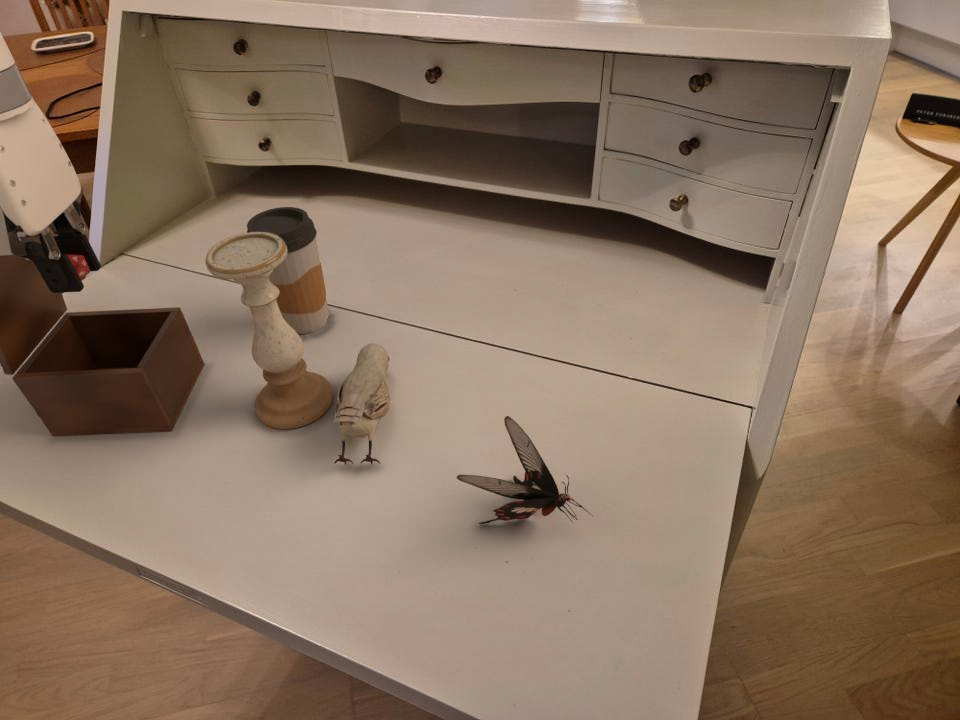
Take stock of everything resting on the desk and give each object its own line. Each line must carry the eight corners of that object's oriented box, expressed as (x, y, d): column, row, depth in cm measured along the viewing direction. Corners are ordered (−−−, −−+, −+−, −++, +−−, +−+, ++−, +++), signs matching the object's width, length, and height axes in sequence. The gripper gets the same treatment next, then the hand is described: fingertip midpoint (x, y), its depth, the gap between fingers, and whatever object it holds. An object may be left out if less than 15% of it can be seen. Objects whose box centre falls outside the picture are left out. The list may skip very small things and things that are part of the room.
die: (62, 291, 63) (48, 266, 62) (62, 277, 66) (48, 252, 64) (94, 283, 64) (81, 257, 62) (92, 269, 67) (80, 244, 65)
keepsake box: (204, 364, 80) (180, 307, 74) (171, 431, 71) (140, 372, 65) (98, 368, 80) (65, 312, 75) (52, 436, 71) (11, 378, 66)
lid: (27, 196, 65) (18, 195, 65) (-43, 254, 56) (-53, 253, 56) (67, 309, 74) (60, 308, 74) (13, 375, 66) (4, 374, 65)
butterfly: (494, 548, 62) (430, 472, 61) (551, 488, 65) (492, 414, 63) (543, 576, 52) (469, 487, 50) (609, 505, 55) (541, 417, 53)
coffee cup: (304, 297, 90) (277, 199, 81) (349, 313, 87) (327, 213, 77) (261, 329, 85) (227, 228, 75) (307, 347, 82) (277, 244, 72)
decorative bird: (403, 370, 77) (394, 321, 72) (382, 474, 65) (371, 422, 60) (359, 371, 77) (348, 321, 73) (331, 474, 65) (315, 423, 60)
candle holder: (320, 432, 70) (272, 276, 57) (244, 428, 71) (180, 274, 58) (342, 378, 76) (304, 228, 63) (273, 376, 78) (221, 227, 64)
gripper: (-11, 68, 59) (79, 242, 71) (-139, 134, 47) (-5, 330, 59) (68, 64, 59) (145, 238, 71) (-40, 128, 47) (75, 327, 59)
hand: (76, 278), depth 65 cm, fingers closed on die, 3 cm apart
